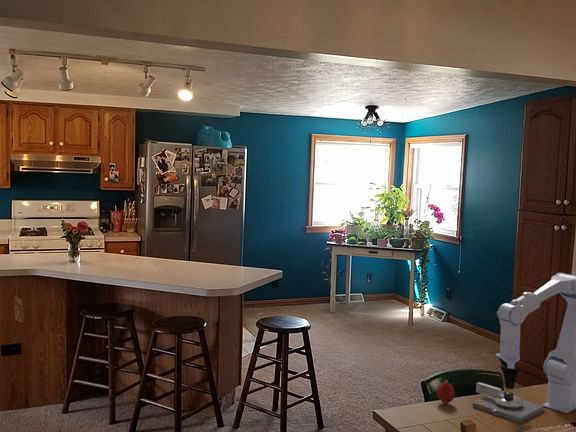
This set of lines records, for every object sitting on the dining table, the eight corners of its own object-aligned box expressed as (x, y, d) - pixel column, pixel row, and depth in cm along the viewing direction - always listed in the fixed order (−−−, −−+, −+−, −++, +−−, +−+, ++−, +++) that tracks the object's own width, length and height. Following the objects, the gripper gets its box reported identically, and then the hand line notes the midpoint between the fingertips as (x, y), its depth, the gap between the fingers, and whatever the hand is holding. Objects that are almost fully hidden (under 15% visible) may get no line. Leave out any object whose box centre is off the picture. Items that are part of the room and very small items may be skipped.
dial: (528, 404, 177) (528, 393, 176) (514, 411, 171) (515, 399, 171) (484, 390, 188) (484, 379, 188) (470, 396, 182) (470, 385, 182)
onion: (432, 401, 182) (433, 378, 182) (447, 399, 184) (448, 376, 183) (442, 408, 176) (443, 383, 176) (458, 406, 178) (458, 382, 178)
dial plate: (543, 410, 176) (544, 405, 176) (517, 424, 165) (517, 418, 165) (497, 395, 188) (497, 391, 188) (470, 407, 177) (470, 402, 177)
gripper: (495, 335, 180) (494, 375, 180) (497, 346, 166) (496, 390, 167) (518, 337, 177) (517, 378, 178) (522, 349, 164) (521, 393, 164)
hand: (508, 384), depth 172 cm, fingers open, 7 cm apart
